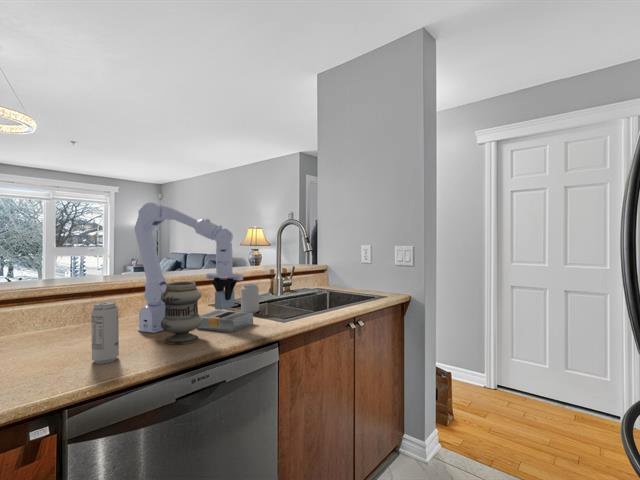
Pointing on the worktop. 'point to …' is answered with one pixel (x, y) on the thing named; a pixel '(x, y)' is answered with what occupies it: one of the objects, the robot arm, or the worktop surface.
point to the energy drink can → (105, 332)
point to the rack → (226, 320)
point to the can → (250, 298)
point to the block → (223, 300)
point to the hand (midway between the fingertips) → (224, 299)
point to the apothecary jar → (181, 312)
